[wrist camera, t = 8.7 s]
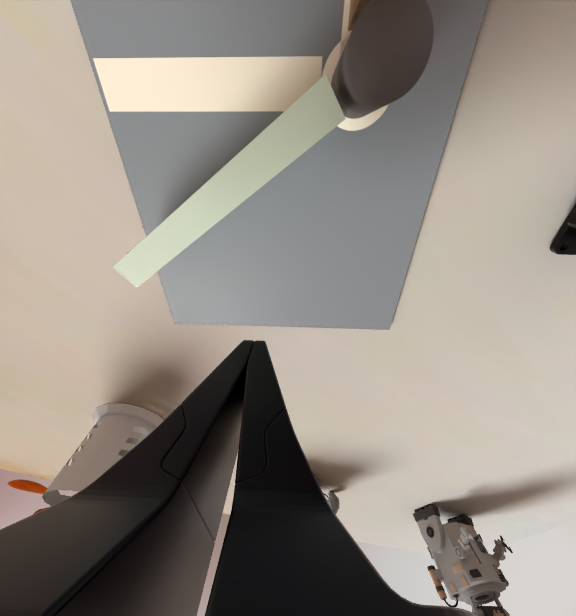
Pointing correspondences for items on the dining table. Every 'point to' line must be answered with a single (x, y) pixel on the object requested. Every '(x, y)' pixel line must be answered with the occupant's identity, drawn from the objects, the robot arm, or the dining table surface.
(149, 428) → the french press
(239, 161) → the swing panel
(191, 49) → the card
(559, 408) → the dining table surface
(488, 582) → the figurine
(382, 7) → the brown wooden bar
